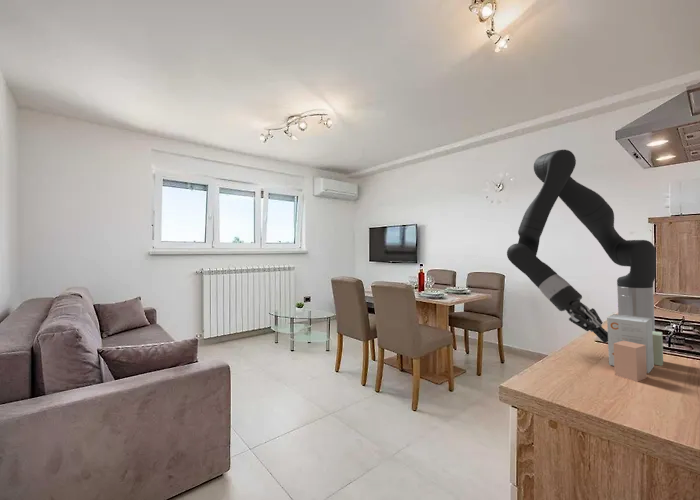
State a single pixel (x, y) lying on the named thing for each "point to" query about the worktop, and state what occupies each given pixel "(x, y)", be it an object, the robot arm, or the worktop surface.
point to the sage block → (657, 348)
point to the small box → (631, 335)
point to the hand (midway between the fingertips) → (609, 340)
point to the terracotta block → (630, 360)
